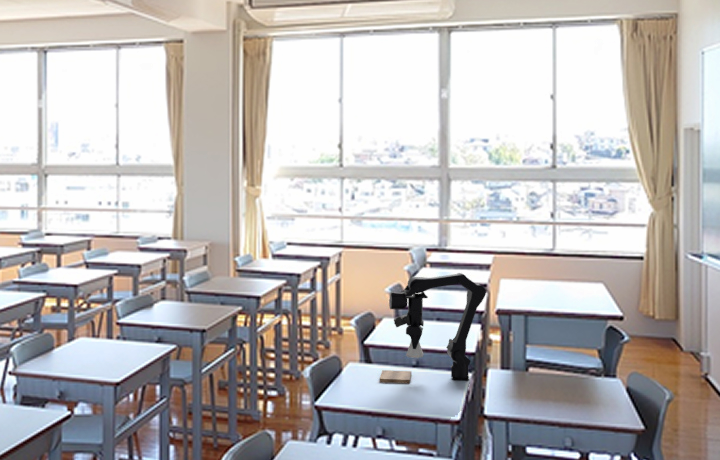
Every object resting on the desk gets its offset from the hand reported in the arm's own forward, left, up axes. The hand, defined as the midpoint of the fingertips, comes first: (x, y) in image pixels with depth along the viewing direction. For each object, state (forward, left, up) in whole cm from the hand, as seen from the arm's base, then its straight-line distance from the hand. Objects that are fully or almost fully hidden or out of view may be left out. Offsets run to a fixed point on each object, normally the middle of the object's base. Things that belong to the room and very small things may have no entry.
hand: (414, 347), depth 260 cm
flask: (0, 0, -4) cm, 4 cm away
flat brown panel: (+8, -1, -14) cm, 16 cm away
